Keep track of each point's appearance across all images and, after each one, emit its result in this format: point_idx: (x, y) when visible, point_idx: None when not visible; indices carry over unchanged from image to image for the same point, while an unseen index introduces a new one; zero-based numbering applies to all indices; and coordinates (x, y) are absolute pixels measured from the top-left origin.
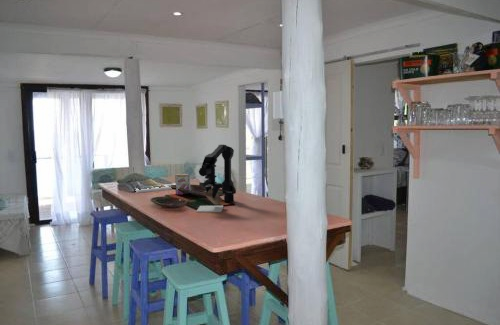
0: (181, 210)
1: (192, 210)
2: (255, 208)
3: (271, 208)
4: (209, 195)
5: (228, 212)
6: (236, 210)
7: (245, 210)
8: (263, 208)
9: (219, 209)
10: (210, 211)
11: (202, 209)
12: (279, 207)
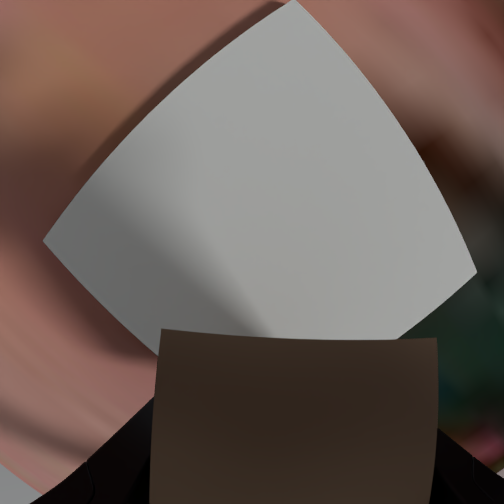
0: (499, 19)
1: (424, 62)
2: (38, 445)
3: (10, 457)
4: (212, 367)
5: (3, 269)
6: (35, 364)
7: (10, 388)
8: (22, 452)
9: (108, 278)
10: (129, 135)
11: (305, 120)
12: (18, 474)
